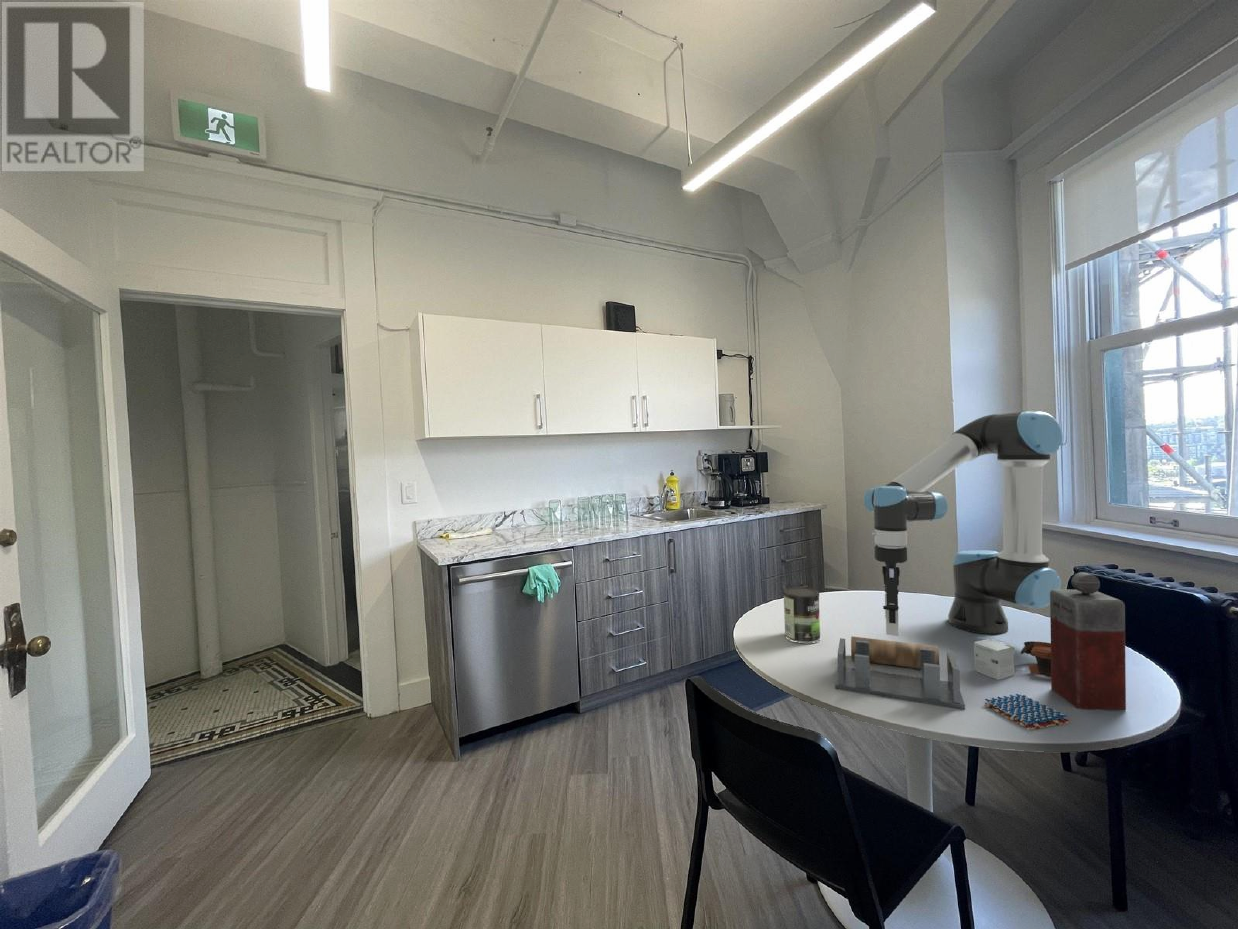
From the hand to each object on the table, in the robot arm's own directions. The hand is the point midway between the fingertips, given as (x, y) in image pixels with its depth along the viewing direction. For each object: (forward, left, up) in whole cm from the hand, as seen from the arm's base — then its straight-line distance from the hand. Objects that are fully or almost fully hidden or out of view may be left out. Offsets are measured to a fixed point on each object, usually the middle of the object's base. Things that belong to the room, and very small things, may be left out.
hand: (891, 626), depth 133 cm
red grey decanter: (-37, +4, -10) cm, 39 cm away
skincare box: (-22, -3, -10) cm, 25 cm away
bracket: (0, +14, -10) cm, 17 cm away
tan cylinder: (0, 0, -10) cm, 10 cm away
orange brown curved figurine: (-34, -8, -10) cm, 37 cm away
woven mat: (-24, +17, -11) cm, 32 cm away
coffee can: (+24, -11, -10) cm, 28 cm away
